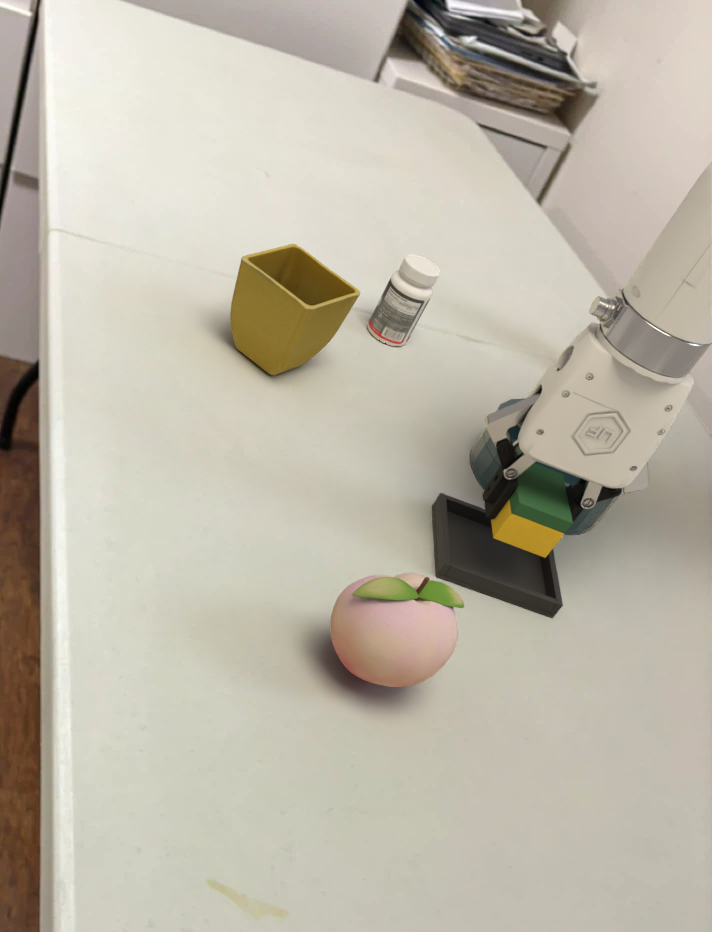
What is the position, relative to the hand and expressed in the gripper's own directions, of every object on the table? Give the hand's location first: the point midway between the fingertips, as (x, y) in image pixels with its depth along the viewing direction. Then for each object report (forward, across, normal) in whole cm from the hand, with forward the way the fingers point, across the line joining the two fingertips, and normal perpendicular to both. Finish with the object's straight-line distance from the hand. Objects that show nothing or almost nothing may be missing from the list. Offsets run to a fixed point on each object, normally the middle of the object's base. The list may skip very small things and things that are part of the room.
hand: (519, 518), depth 94 cm
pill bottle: (+5, -10, +34) cm, 36 cm away
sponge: (+1, 0, 0) cm, 1 cm away
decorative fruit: (+5, -12, -20) cm, 24 cm away
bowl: (+5, +6, +15) cm, 17 cm away
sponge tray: (+5, 0, 0) cm, 5 cm away
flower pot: (+5, -23, +20) cm, 31 cm away
